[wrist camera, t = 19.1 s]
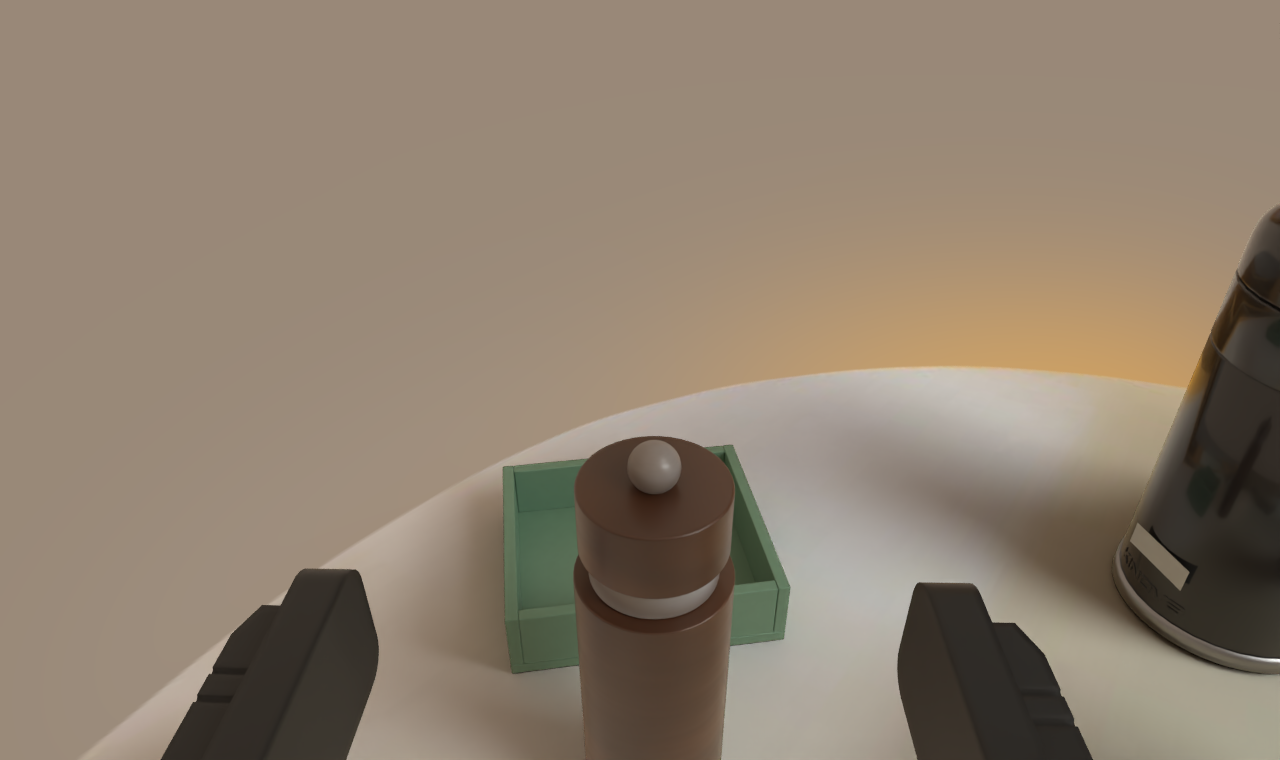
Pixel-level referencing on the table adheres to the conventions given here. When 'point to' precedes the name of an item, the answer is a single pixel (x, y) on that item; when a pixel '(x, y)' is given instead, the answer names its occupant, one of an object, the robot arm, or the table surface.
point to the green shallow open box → (549, 551)
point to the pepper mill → (653, 599)
